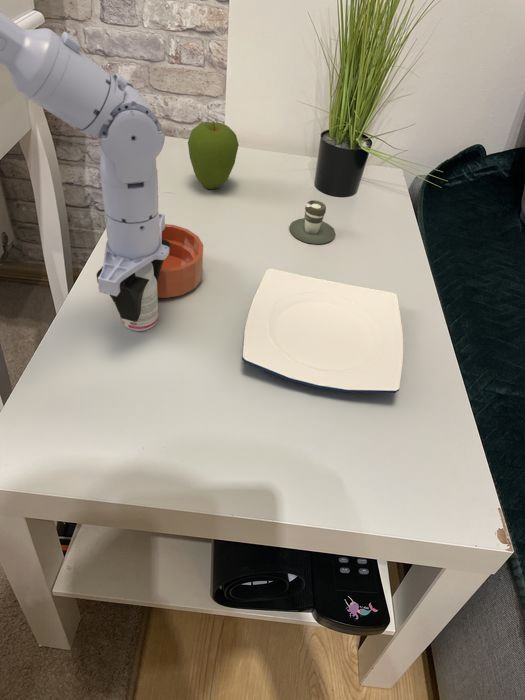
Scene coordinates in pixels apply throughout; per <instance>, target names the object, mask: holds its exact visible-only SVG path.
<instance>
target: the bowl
mask: <svg viewBox="0 0 525 700" xmlns="http://www.w3.org/2000/svg"><path fill="white" fill-rule="evenodd" d="M162 239H163V240H167V241H169V242H170V246H171V248H170V249H169V254H168V256H167V258H166V259H165V260H164V261H163V264H162V267H161V270H160V274H159V279H158V283H157V297H158V298H161V299H169V298H173V297H180V296H183V295H185V294H187V293H189V292H191V291H193V290H194V289H196V288H197V286H198V285H199V284H200V282H202V279H203V264H204V243H203V242H202V241H201V238H200V237H199V236H198V235H197V234H195V233H194V232H192V231H191V230H189V229H187V228H185V227H182V226H178V225H176V224H169V223H168V224H167V223H165V229H164V230H163V231H162Z"/></svg>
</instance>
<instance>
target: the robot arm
mask: <svg viewBox="0 0 525 700" xmlns="http://www.w3.org/2000/svg"><path fill="white" fill-rule="evenodd" d="M80 49H81V45H80V43H79V41H78V40H77V39H76V38H75V37H74V36H72V35H71V34H70V33H68V32H67V31H63V32H62V34H61V36H60V35H59V34H57V33H55V32H54V31H53V30H52V29H50V28H47V27H42V28H33V29H32V28H31V29H27V28H25V29H24V28H22V27H21V26H19V24H17V23H16V22H14V20H12V19H11V18H9V17H8V16H7V15H6V14H4V13H3V12H1V11H0V64H1V65H2V66H4V67H6V68H7V69H8V73H9V75H10V79H11V82H12V85H13V87H14V89H15V91H16V92H17V93H18V94H20V95H21V96H23V97H24V98H26V99H28V100H29V101H31V102H32V103H34V104H36V105H37V106H39V107H40V108H42V109H43V110H45V111H47V112H48V113H50V114H51V115H53V116H55V117H56V118H57V119H59V120H61V121H63V122H64V123H66V124H67V125H69V126H71V127H72V128H74V129H75V130H76V131H78V132H80V133H82V134H83V135H87V136H91V137H94V138H96V139H99V141H98V143H97V144H98V151H99V152H98V153H99V159H100V160H99V161H100V165H99V176H100V185H101V193H102V194H101V195H102V203H103V210H104V211H103V213H104V220H105V230H106V238H107V240H106V243H105V250H104V256H103V262H102V263H103V264H102V266H101V268H100V269H99V270H98V271H97V272H96V282H97V284H98V290H99V293H101V294H105V295H108V296H110V298H111V300H112V301H113V303H114V306H115V307H116V309H117V311H118V314H119V316H121V318H122V319H126V320H130V321H134V322H137V321H138V319H139V316H140V313H141V301H142V296H143V292H144V289H145V287H146V285H147V283H148V282H149V279H145V278H141V277H136V276H135V272H136V271H138V270H139V269H141V268H142V267H144V266H145V265H147V264H149V263H150V262H151V263H152V265H153V271H154V276H155V278H156V280H157V283H158V279H159V274H160V270H161V267H162V264H163V261H164V260H165V259H166V258H167V256H168V254H169V249H170V248H171V246H170V242H169V241H167V240H163V239H162V231H163V230H164V229H165V224H166V214H165V213H160V212H159V182H158V181H159V180H158V179H159V178H158V168H157V158H158V156H159V155H160V154H161V152H162V150H163V147H164V145H165V139H166V135H165V134H164V133H163V132H162V126H161V123H160V121H159V118H158V117H157V115H156V114H155V113H154V111H153V110H152V108H151V106H150V105H149V104H148V102H147V101H146V99H145V98H144V96H143V95H142V94H141V93H140V92H139V91H138V90H137V89H136V88H135V87H134V85H133V83H131V82H130V81H127V80H126V79H125V77H123V76H122V75H121V74H119V73H118V72H115V73H113V75H111V74H110V73H109V72H107V71H106V70H105V69H104V68H102V67H100V65H98V64H97V63H95V62H94V61H93V60H91V59H90V58H88V56H86V55H85V54H83V53H82V52H81V51H80ZM121 318H120V319H121Z"/></svg>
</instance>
